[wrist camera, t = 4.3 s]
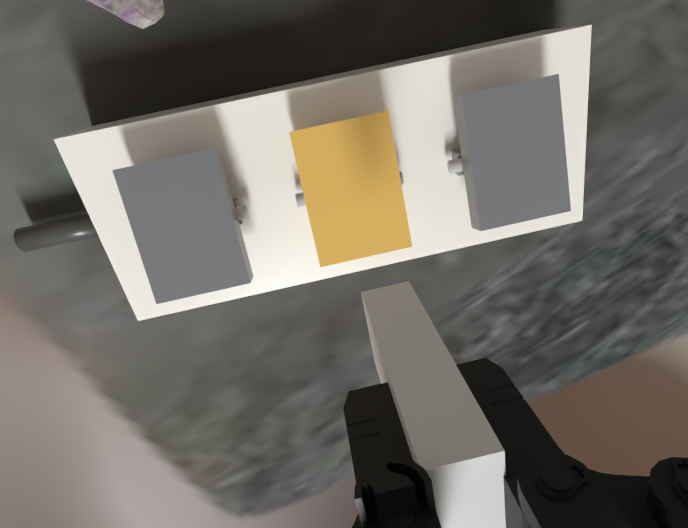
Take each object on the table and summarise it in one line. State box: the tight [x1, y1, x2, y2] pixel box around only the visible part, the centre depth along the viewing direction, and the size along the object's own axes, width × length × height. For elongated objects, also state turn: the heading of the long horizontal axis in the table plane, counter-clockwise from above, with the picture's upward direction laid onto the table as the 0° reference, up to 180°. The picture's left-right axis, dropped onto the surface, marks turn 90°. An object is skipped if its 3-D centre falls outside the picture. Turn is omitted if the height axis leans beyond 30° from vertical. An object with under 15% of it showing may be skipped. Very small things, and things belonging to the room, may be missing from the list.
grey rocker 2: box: [453, 74, 571, 231], centre depth 19 cm, size 6×4×1 cm
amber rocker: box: [289, 111, 412, 267], centre depth 19 cm, size 6×4×1 cm
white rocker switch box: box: [14, 25, 592, 321], centre depth 22 cm, size 9×28×5 cm, turn 101°
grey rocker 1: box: [112, 148, 254, 304], centre depth 19 cm, size 6×4×1 cm
